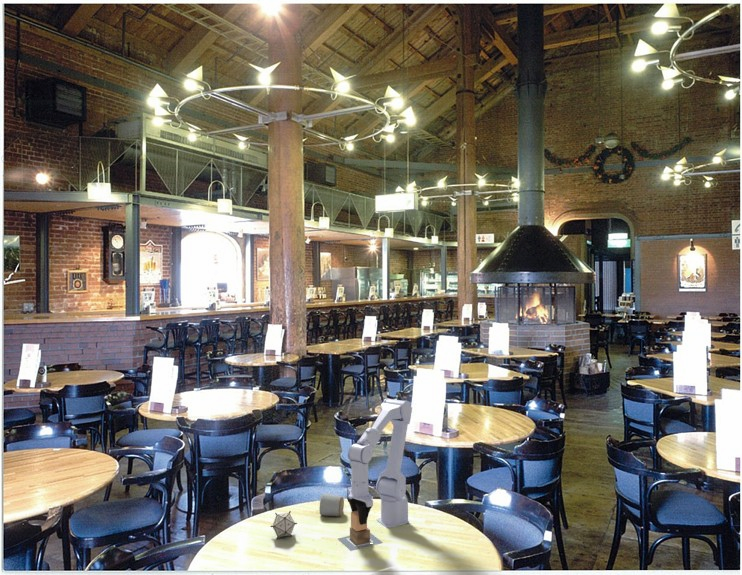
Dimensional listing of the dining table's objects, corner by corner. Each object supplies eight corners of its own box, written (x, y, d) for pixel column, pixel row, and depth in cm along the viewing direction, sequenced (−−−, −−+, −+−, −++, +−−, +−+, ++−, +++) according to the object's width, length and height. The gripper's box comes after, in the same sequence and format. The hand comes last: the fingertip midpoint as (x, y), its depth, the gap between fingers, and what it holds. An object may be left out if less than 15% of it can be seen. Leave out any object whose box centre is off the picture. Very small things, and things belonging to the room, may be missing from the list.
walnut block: (362, 536, 186) (362, 524, 186) (370, 541, 182) (370, 529, 182) (349, 539, 183) (349, 527, 184) (356, 545, 179) (356, 532, 179)
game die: (286, 549, 185) (290, 533, 179) (264, 538, 186) (267, 522, 181) (299, 527, 192) (302, 511, 186) (277, 517, 194) (280, 500, 188)
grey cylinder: (340, 519, 200) (340, 498, 201) (319, 518, 201) (319, 497, 202) (346, 509, 211) (346, 489, 211) (325, 507, 212) (325, 487, 212)
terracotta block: (361, 524, 185) (361, 509, 185) (367, 528, 182) (367, 513, 182) (350, 526, 183) (350, 511, 183) (356, 531, 180) (356, 516, 180)
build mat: (368, 532, 190) (368, 531, 190) (382, 543, 181) (382, 542, 181) (337, 539, 184) (337, 538, 184) (350, 551, 175) (350, 550, 175)
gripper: (339, 476, 187) (339, 516, 187) (359, 489, 175) (359, 532, 174) (357, 472, 191) (357, 512, 190) (378, 485, 178) (378, 527, 178)
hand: (359, 521), depth 183 cm, fingers closed on terracotta block, 4 cm apart
